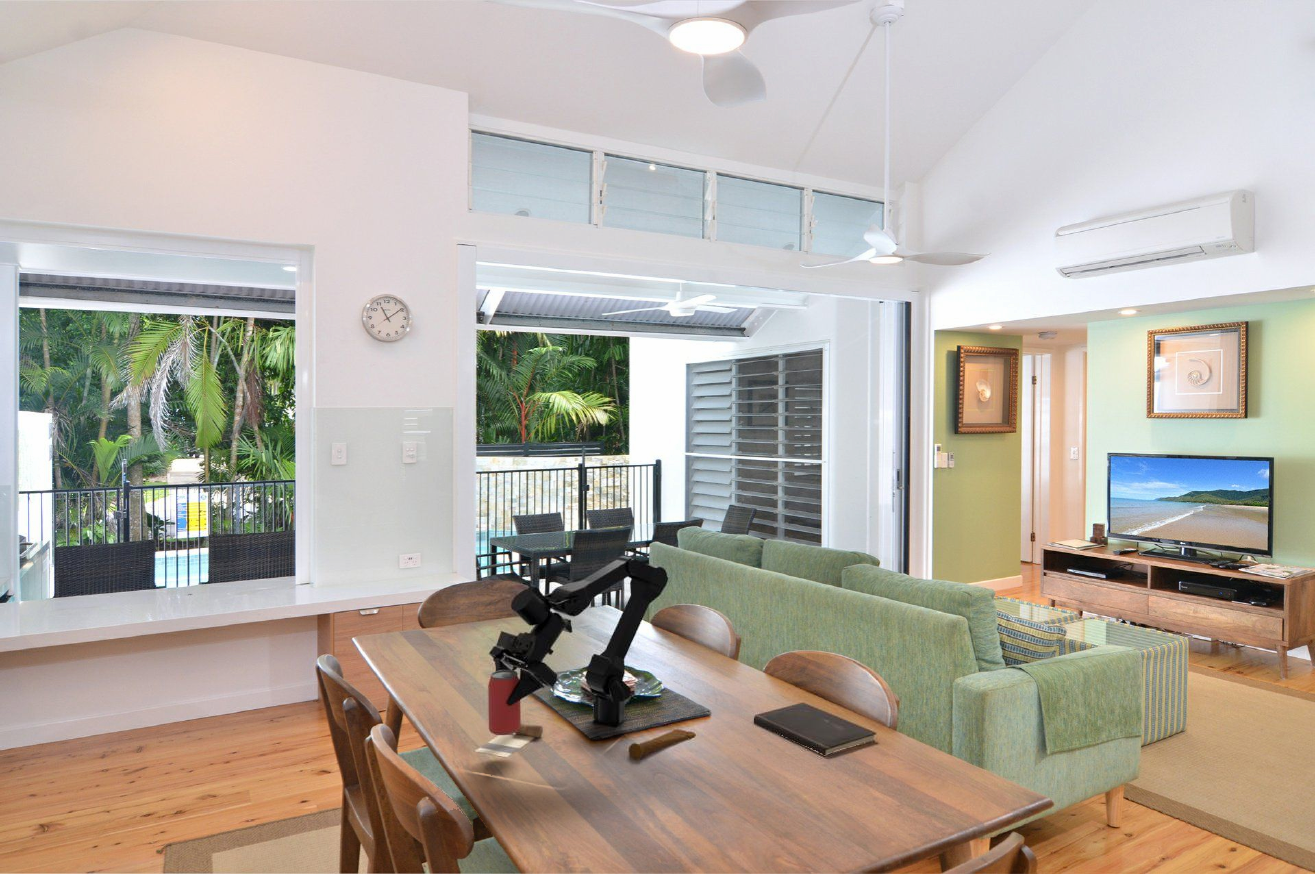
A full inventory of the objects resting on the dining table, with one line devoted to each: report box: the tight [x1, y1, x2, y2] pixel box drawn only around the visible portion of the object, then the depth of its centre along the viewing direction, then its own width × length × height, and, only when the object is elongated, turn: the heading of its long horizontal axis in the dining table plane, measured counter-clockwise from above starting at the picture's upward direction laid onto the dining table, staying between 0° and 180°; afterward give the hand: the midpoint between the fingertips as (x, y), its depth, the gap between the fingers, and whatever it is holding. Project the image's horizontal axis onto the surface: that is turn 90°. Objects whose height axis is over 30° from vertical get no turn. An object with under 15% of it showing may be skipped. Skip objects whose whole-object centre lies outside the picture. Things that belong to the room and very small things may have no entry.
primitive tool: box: [628, 728, 697, 761], centre depth 178 cm, size 19×6×4 cm, turn 144°
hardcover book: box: [753, 702, 877, 756], centre depth 187 cm, size 16×23×2 cm
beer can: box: [487, 670, 522, 736], centre depth 172 cm, size 7×7×12 cm
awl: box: [515, 722, 544, 738], centre depth 184 cm, size 12×2×2 cm, turn 68°
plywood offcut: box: [474, 733, 536, 758], centre depth 179 cm, size 8×15×1 cm, turn 158°
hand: (498, 700), depth 171 cm, fingers closed on beer can, 7 cm apart
